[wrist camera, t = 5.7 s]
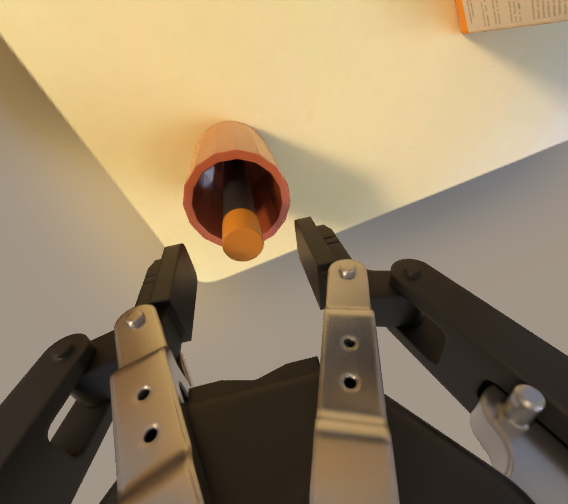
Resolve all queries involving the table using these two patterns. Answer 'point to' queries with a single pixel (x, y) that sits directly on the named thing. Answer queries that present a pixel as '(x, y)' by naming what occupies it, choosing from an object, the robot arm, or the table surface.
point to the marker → (239, 214)
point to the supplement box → (508, 13)
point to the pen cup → (209, 180)
